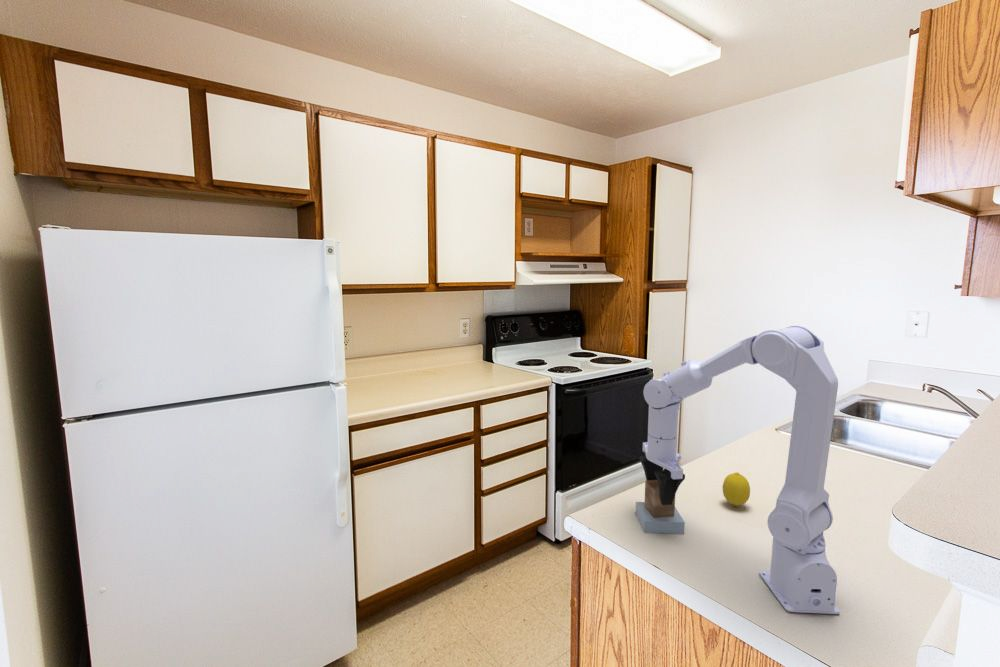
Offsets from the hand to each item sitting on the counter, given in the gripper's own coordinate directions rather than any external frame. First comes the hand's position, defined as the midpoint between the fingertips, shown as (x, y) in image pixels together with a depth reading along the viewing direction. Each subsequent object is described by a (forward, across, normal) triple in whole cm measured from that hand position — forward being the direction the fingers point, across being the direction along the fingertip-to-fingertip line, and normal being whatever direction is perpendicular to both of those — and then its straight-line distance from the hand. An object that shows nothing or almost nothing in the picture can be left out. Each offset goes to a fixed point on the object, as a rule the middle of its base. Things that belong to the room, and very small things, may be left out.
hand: (659, 496), depth 97 cm
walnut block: (+3, 0, 0) cm, 3 cm away
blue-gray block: (+6, 0, 0) cm, 6 cm away
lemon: (+6, +4, -20) cm, 21 cm away
